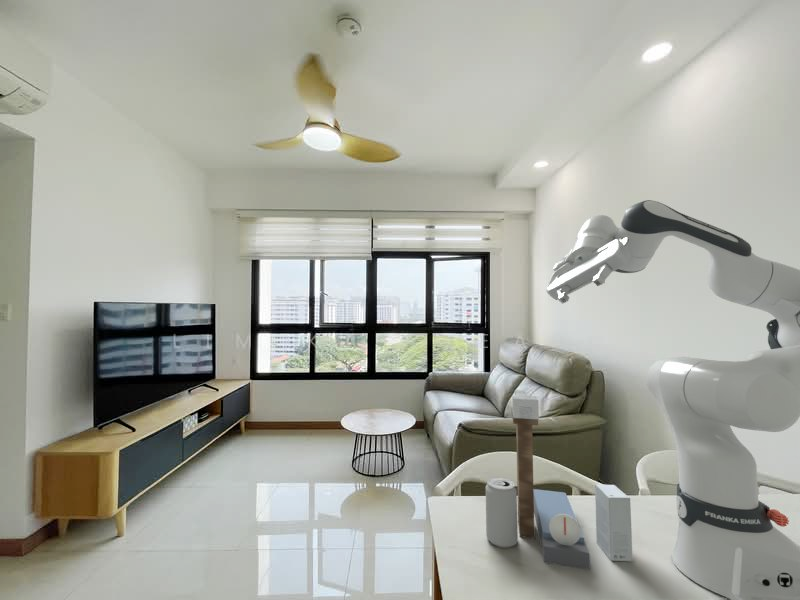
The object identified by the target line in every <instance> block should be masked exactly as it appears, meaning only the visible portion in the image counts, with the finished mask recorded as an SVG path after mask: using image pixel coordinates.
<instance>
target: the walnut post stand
mask: <svg viewBox="0 0 800 600" xmlns="http://www.w3.org/2000/svg"><path fill="white" fill-rule="evenodd" d="M510 408H511V417H512V418H511V419H512V423H513V425H515V428H516V430H515V433H516V477H517V478H516V480H517V481H516V485H517V488H516V491H517V526H518V534H519V537H521V538H529V539H535V515H534V490H533V489H534V446H533V444H534V443H533V426H539V420H538V419H523V418H513V408H512V406H511V407H510Z"/></svg>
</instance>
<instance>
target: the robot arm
mask: <svg viewBox="0 0 800 600" xmlns="http://www.w3.org/2000/svg"><path fill="white" fill-rule="evenodd" d="M579 228H580V229H579V230H578V232H577V236H576V238H575V242H574V244H573V246H572V248H571V249H570V250H569V251H568V253H567V254H565V256H564V257H562V258H561V259H560V260H558V262H557V263H555V265H554V266H553V268H552V269H553V271H554V272H553V273H552V274H551V275H550V278H549V281H548V284H547V285H546V289H545V290H546V292H547V294H548V296H549V297H551V298H552V299H553V300H555V301H558V302H560V303H561V304H565V303H567V302H569V300H570V296H569V295H571V294H573V293H574V292H576V291H578V290H580V289H582V288H584V287H585V286H588V285H590V284H592V283H593V284H595V285H596V287H599V286H602V285H604V284H605V283H606V279H607V278H608V277H609V276H610V275H611V274H612V273H613V272H617V273H619V274H620V273H621V274H632V273H633V274H634V273H638V272H641V271H643V270H645V268H646V267H647V266H648V264H649V262H650V261H651V260H652V258H653V257H654V256H655V253H656V252H657V250H658V248H659V247H660V245H661V244H662V242H663V240H664V239H665V238H667V237H669V236H671V237H676V238H678V239H681V240H683V241H685V242H687V243H690V244H693V245H696V246H698V247H700V248H703V249H705V250H706V251H707V252H709V254H710V255H709V262H708V268H707V284H708V286H709V288H710V290H711V291H712V292H713V293H714V295H716V296H717V297H719V298H721V299H723V300H725V301H727V302H731V303H734V304H739V305H741V306H746V307H750V308H754V309H758V310H761V311H764V312H767V313H768V314H770V315H772V317H774V319H771V320H769V322H767V324H766V330H767V332H768V335H767V342H768V343H767V344H768V346H769V349H764V350H758V351H755V352H753V353H751V354H749V355H748V356H747V357H746V358H745V360H742V361H741V360H740V361H739V360H738V361H728V360H713V359H704V358H695V357H690V356H689V357H688V356H676V357H675V356H674V357H668V358H661V359H659V360H656V361H654V363H652V364H651V365H650V367H649V368H648V370H647V373H646V385H647V388H648V390H649V392H650V393H651V394H652V396H653V397H654V398H655V399H656V400H657V402H658V403H659V404H660V406H661V408H662V409H663V412H664V414H665V416H666V418H667V421H668V424H669V426H670V429H671V432H672V435H673V438H674V441H675V447H676V453H677V466H678V467H677V468H678V481H679V482H678V483H677V484H676V497H675V499H676V508H677V509H676V510H677V516H678V519H679V521H678V529H677V535H676V541H675V545H674V547H673V551H672V553H671V559H672V560H671V561H672V562H673V564H674V565H675V566H676V567H677V568H678V570H679V571H681V573H682V574H683V575H685V576H686V577H687V578H688V579H690V580H692V581H693V582H695V583H696V584H698V585H700V586H701V587H703V588H705V589H707V590H709V591H711V592H713V593H716V594H718V595H721V596H722V597H725V598H727V599H728V600H800V545H798V544H797V543H796V542H795V541H794V540H792V539H791V538H789V537H788V536H787V535H786V534H785V533H783V532H781V531H780V529H778V528H776V527H775V526H774V525H773V524H772V522H774V523H775V524H776V525H777V526H779V527H783V528H784V527H787V526H788V525H789V522H790V519H789V517H787V516H786V515H785V514H783V513H781V512H780V511H779V510H778V509H775V508H774V509H771V508H770V507H769V505H767V504H765V503H763V502H762V501H761V500H759V489H758V473H757V472H758V470H757V469H758V468H757V463H756V459H755V457H754V455H753V454H752V452H751V451H750V450H749V449H748V448H747V447H746V446H745V445H744V444H743V443H742V442H741V441H740V440H739V438H738V437H737V436H736V434H735V433H734V431H733V429H732V427H735V428H738V429H741V430H743V429H744V430H750V431H758V432H770V433H780V432H784V431H785V430H786V431H787V429H789V428H791V427H792V426H794V424H796V422H797V421H798V420H799V419H800V269H798V268H796V267H793V266H790V265H786V264H783V263H780V262H776V261H774V260H769V259H765V258H762V257H760V256H758V255H756V254H754V253H753V252H752V249H753V248H752V246H751V244H750V243H749V242H748V241H746V240H745V239H743V238H742V237H740V236H738V235H737V234H736V235H735V234H734V233H731V232H729V231H726V230H725V229H722V228H720V227H717V226H714V225H713V224H709V223H707V222H704V221H702V220H699V219H698V218H697V219H696V218H694V217H692V216H688V215H686V214H685V213H681V212H679V211H677V210H675V209H674V208H672V207H671V206H669V205H666V204H664V203H663V202H659V201H656V200H653V199H652V200H649V199H648V200H643V201H640V202H636V203H635V204H633V205H631V206H629V207H627V208H626V210H625V212H624V215H623V218H622V220H621V222H620V226H619V227H618V226H617V225H616V223H615V222H614V220H613V219H612V218H611V217H610V216H608V215H602V214H601V215H600V214H599V215H594V216H592V217H590V218H588V219H587V220H585V222H584V223H583V224H582V226H581V227H579ZM771 521H772V522H771Z"/></svg>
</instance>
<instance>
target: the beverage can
mask: <svg viewBox="0 0 800 600" xmlns="http://www.w3.org/2000/svg"><path fill="white" fill-rule="evenodd" d="M486 483H487V484H486V485H485V526H486V527H485V528H486V529H485V530H486V531H485V533H486V534H485V536H486V538H487V540H488V541H489V542H490V543H491V544H492V545H494V546H496V547H498V548H503V549H508V548H511V547H513V546H515V545H516V544H517V542H518V539H519V538H518V534H519V531H518V494H517V488H516V486H515V482H514V481H512V480H511V479H509V478H505V477H501V476H499V477H491V478H489V479H487V482H486Z"/></svg>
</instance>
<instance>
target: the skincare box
mask: <svg viewBox="0 0 800 600" xmlns="http://www.w3.org/2000/svg"><path fill="white" fill-rule="evenodd" d="M594 487H595V488H594V491H595V493H594V496H595V529H596V530H595V533H596V543H597V545H598V546H599V547H600V549H602V551H603V552H604V554H605V555H606V556H607V557H608V558H609V560H610V561H613V562H633V537H632V536H633V535H632V534H633V533H632V513H631V510H632V508H631V498H630V497H629V495H628V494H626V493H624V492H623V491H622V490H621V489H620V488H619V487H617V485H615V484H602V483H601V484H600V483H599V484H597V483H596V484H594Z"/></svg>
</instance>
